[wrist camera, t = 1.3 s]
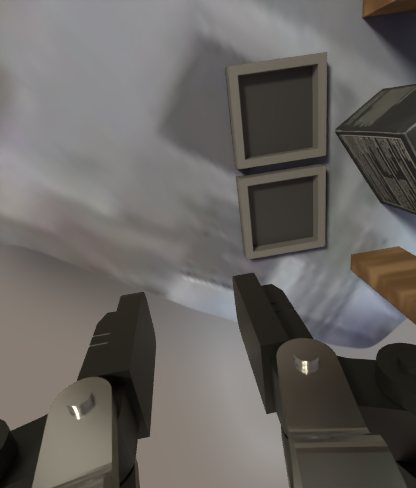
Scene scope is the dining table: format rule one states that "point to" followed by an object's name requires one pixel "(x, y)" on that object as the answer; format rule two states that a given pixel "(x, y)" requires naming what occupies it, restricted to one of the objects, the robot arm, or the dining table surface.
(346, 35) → the dining table surface
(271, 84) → the tray
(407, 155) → the small box
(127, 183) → the dining table surface
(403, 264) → the tunnel
